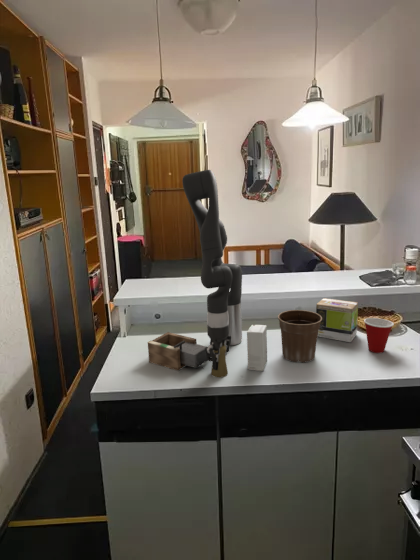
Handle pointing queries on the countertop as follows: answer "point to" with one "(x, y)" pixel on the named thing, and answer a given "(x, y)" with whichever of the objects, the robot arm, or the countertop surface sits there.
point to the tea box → (337, 319)
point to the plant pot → (299, 334)
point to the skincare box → (257, 347)
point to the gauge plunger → (192, 354)
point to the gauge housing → (167, 350)
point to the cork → (220, 364)
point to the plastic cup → (377, 333)
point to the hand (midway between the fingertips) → (219, 367)
